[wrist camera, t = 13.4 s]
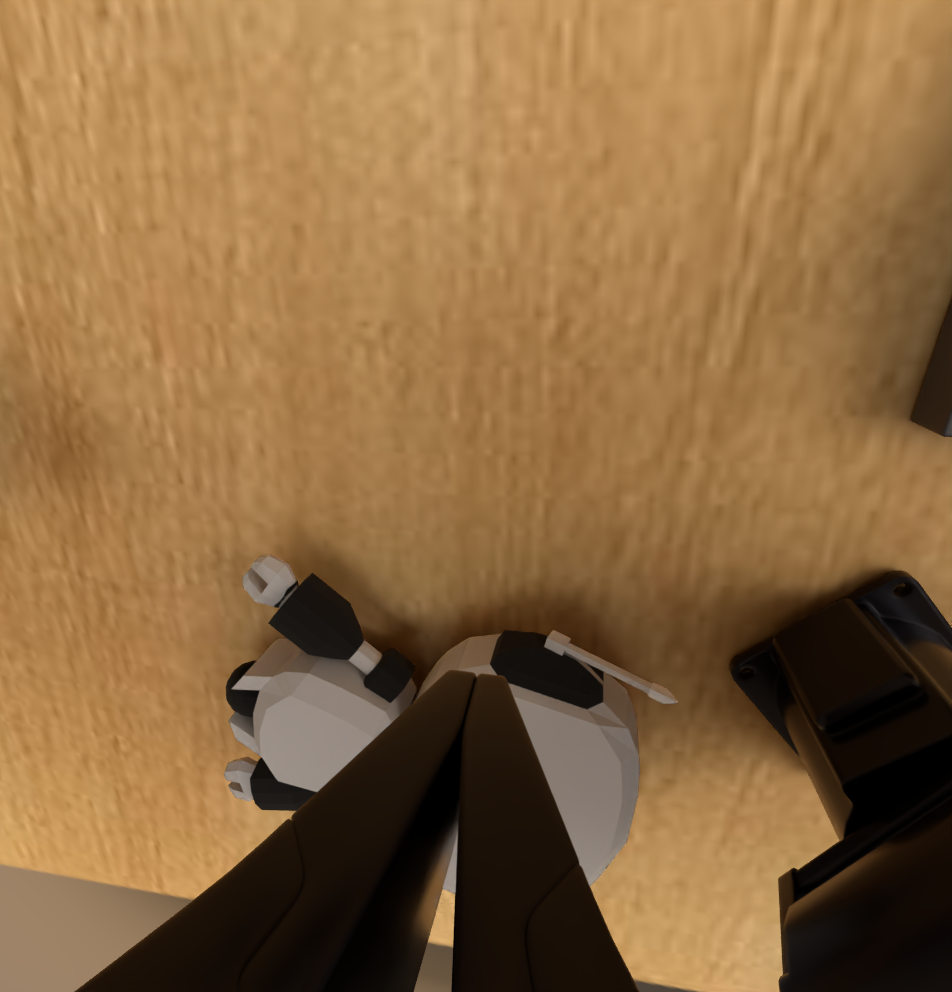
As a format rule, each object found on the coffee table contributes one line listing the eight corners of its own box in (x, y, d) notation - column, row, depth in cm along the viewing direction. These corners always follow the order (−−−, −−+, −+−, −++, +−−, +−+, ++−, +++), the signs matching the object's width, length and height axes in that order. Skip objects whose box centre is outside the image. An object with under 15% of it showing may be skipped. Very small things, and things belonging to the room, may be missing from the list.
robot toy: (256, 745, 27) (577, 862, 26) (192, 830, 23) (570, 976, 22) (285, 504, 23) (682, 631, 21) (212, 558, 18) (699, 720, 17)
